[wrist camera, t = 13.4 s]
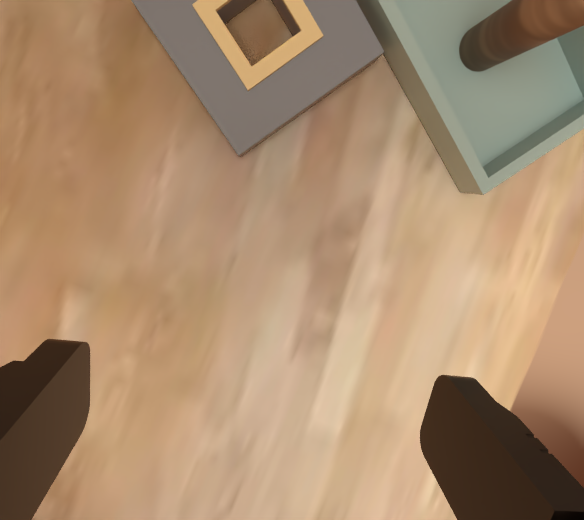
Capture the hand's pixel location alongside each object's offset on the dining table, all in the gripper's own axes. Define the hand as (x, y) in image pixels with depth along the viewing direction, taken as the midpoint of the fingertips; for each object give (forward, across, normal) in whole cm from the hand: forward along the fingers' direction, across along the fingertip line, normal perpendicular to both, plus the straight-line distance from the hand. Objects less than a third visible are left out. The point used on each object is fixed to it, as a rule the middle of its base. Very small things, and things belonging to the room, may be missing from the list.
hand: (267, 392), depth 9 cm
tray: (+28, -17, -16) cm, 36 cm away
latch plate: (+29, +2, -14) cm, 32 cm away
